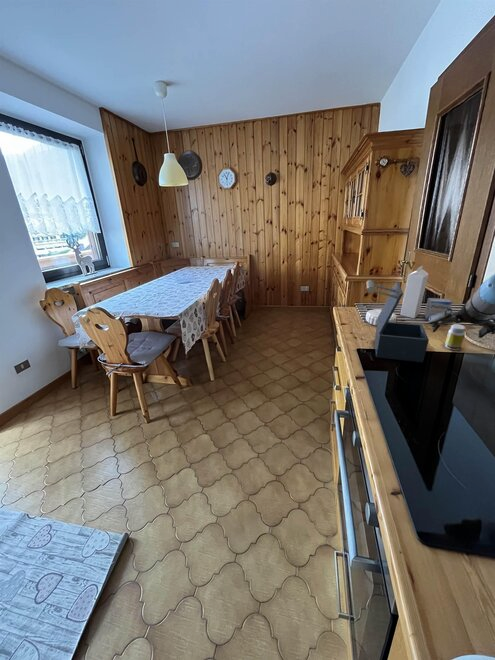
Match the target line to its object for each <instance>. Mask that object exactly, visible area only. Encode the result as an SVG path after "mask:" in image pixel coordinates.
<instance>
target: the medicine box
mask: <svg viewBox="0 0 495 660" xmlns="http://www.w3.org/2000/svg"><path fill="white" fill-rule="evenodd" d="M452 304H453V302H452V301H451V299H450V298H438V297H428V298H427V301H426V306H425V310H424V314H423V316H424V318H425V319H426V320H427V321H429V316H432V315H435V314H438V313H440V312H443V311H445V310H447V309H449V308H450V309H452Z"/></svg>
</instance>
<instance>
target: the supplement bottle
mask: <svg viewBox="0 0 495 660" xmlns="http://www.w3.org/2000/svg"><path fill="white" fill-rule="evenodd" d="M465 331H466V326H465V325H462V324H460V323H452V325H450V329H448V332H447V335H446V339H445V342H444V347H445V348H446V349H449V350H451V351H458V350H460V349H461V347H462V344H463V341H464V339H465V338H464V337H465V335H466V332H465Z"/></svg>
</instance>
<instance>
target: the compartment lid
mask: <svg viewBox="0 0 495 660" xmlns="http://www.w3.org/2000/svg"><path fill="white" fill-rule="evenodd" d="M365 286H366V287H365V288H366V292H367V293H368V294H373V293H377V294H380V295H383V296H387V298H386V301H385V304H383V307H382V308H381V309H382V311H381V313H380V315H379V316H378V318H377V323H378V330H379V334H382V332H383V330H384V329H385V327H386V325H387V323H388V321H389V319H390V318H391V316H392V314H393V313H395V310H396V309H397V307H398V305H399V304H400V303H399V302H400V301H401V299H402V298H403V296H404V292H403V290H402V289H403V288H402V287H401V284H400V282H399V281H396V282H395V284H394V286H393V288H390V287H387V286H384V285H380V284H377V283H374V281H373V280H372V279H367V280H366V282H365ZM375 288H379V289H382V290H384V291H381V290H379V289H375ZM385 290H386V291H388V292H385ZM389 292H390V293H389Z"/></svg>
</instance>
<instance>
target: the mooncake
mask: <svg viewBox="0 0 495 660" xmlns="http://www.w3.org/2000/svg"><path fill="white" fill-rule="evenodd" d="M382 309H383V308H375V309H370V310H368V311H367V312H366V313H365V314H366V315H365V321H366V322H367V323H368V324H370V325H373V326H375V327H377V318H378V316H379V315H380V313H381V311H382ZM388 322H396V323H397V314H396V313H395V312H393V314H392V316H391V318H390V319H389V321H388Z"/></svg>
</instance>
